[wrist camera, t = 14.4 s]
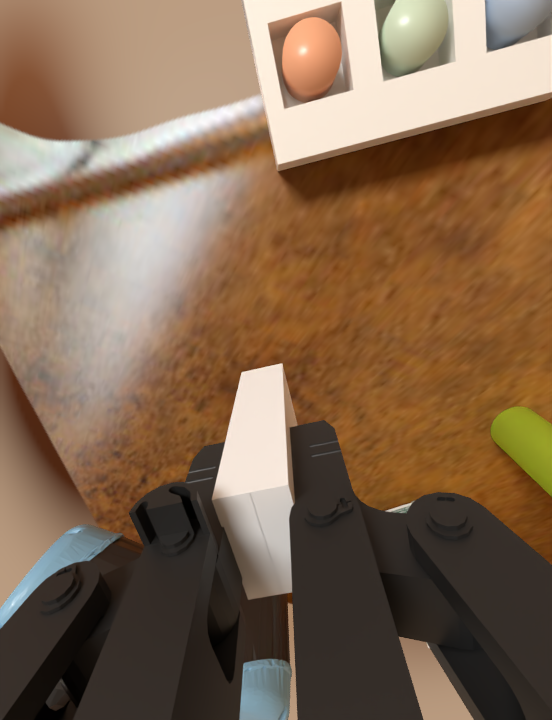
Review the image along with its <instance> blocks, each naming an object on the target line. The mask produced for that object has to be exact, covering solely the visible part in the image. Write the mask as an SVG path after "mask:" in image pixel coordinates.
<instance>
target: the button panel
mask: <svg viewBox="0 0 552 720" xmlns="http://www.w3.org/2000/svg"><path fill="white" fill-rule="evenodd" d="M395 1H396V0H242V5H243V10H244V15H245V19H246V24H247V29H248V34H249V38H250V43H251V48H252V52H253V57H254V62H255V67H256V71H257V76H258V81H259V85H260V90H261V95H262V100H263V105H264V109H265V114H266V119H267V124H268V128H269V133H270V138H271V143H272V147H273V152H274V157H275V162H276V166H277V171H281V170H285V169H289V168H293V167H296V166H300V165H304V164H308V163H312V162H315V161H319V160H323V159H327V158H330V157H334V156H338V155H342V154H346V153H349V152H353V151H357V150H361V149H364V148H368V147H372V146H376V145H380V144H383V143H387V142H391V141H395V140H398V139H402V138H406V137H410V136H414V135H417V134H421V133H425V132H429V131H433V130H436V129H440V128H444V127H448V126H451V125H455V124H459V123H463V122H467V121H470V120H474V119H478V118H482V117H485V116H489V115H493V114H497V113H501V112H504V111H508V110H512V109H516V108H520V107H523V106H527V105H531V104H535V103H538V102H542V101H546V100H548V99H550V98H552V11H551V13H550V14H549V16H548V17H547V18H546V19H545V20H544V21H543V22H542V23H541V24H540V25H538V26H537V27H536V28H535V29H533V30H532V31H531V32H529V33H528V34H527V35H526V36H524V37H523V38H522V39H520V40H519V41H518V42H516V43H515V44H514V45H512V46H509V47H506V48H502V49H499V50H493V49H490V48H488V47H486V17H485V0H445V2H446V5H447V9H448V28H447V32H446V35H445V37H444V40H443V42H442V43H441V45H440V46H439V48H438V49H437V50H436V51H435V52H434V53H433V55H432V56H431V57H430V58H429V59H428V60H427V61H426V62H425V63H424V65H423V66H422V67H421V68H420V69H419V70H418V71H416V72H415V73H412V74H409V75H405V76H401V77H397V76H393V75H391V74H390V73H388V72H387V71H386V70H385V69H384V68H383V67H382V65H381V57H380V49H379V40H378V35H379V32H380V29H381V27H382V25H383V23H384V21H385V20H386V18H387V16H388V14H389V12H390V10H391V8H392V6H393V4H394V3H395ZM310 17H317V18H321V19H323V20H326V21H327V22H328V23H330V24H331V25H332V26H333V27H334V29H335V30H336V32H337V33H338V36H339V38H340V41H341V46H342V59H341V64H340V67H339V70H338V72H337V75H336V77H335V80H334V82H333V85H332V87H331V89H330V90H329V92H328V93H327V94H326V95H325V96H324V97H323V98H321V99H319V100H315V101H311V102H308V103H305V102H301V101H298V100H297V99H295V98H294V97H292V96H291V95H290V93H289V92H288V91H287V89H286V87H285V85H284V82H283V78H282V55H283V46H284V42H285V39H286V37H287V35H288V33H289V31H290V30H291V28H292V27H293V26H294V25H295V24H296V23H298V22H299V21H301V20H303V19H305V18H310Z"/></svg>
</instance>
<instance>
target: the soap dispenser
mask: <svg viewBox="0 0 552 720" xmlns="http://www.w3.org/2000/svg"><path fill="white" fill-rule="evenodd" d="M491 437H492V439H493V440H494V442H495V443H496V444H497V445H498V446H499V447H501V448H502V449H503V450H504V451H505V452H506V453H507V454H508V455H509V456H510V457H511V458H512V459H513V460H514V461H515V462H516V463H517V464H518V465H519V466H520V467H521V468H522V469H523V470H524V471H525V472H526V473H527V474H528V475H529V476H530V477H532V478H533V479H534V480H535V481H536V482H537V483H538V484H539V485H540V486H541V487H542V488H543V489H544V490H545V491H546V492H547V493H548V494H549V495H550V496H551V497H552V424H550V423H549V422H548V421H546V420H545V419H543V418H542V417H541V416H539V415H538V414H536V413H535V412H533V411H532V410H531V409H529V408H526V407H512V408H509V409H507V410H505V411H503V412H502V413H500V414H499V415H498V416H497V417H496V418H495V420H494V421H493V423H492V425H491Z"/></svg>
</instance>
